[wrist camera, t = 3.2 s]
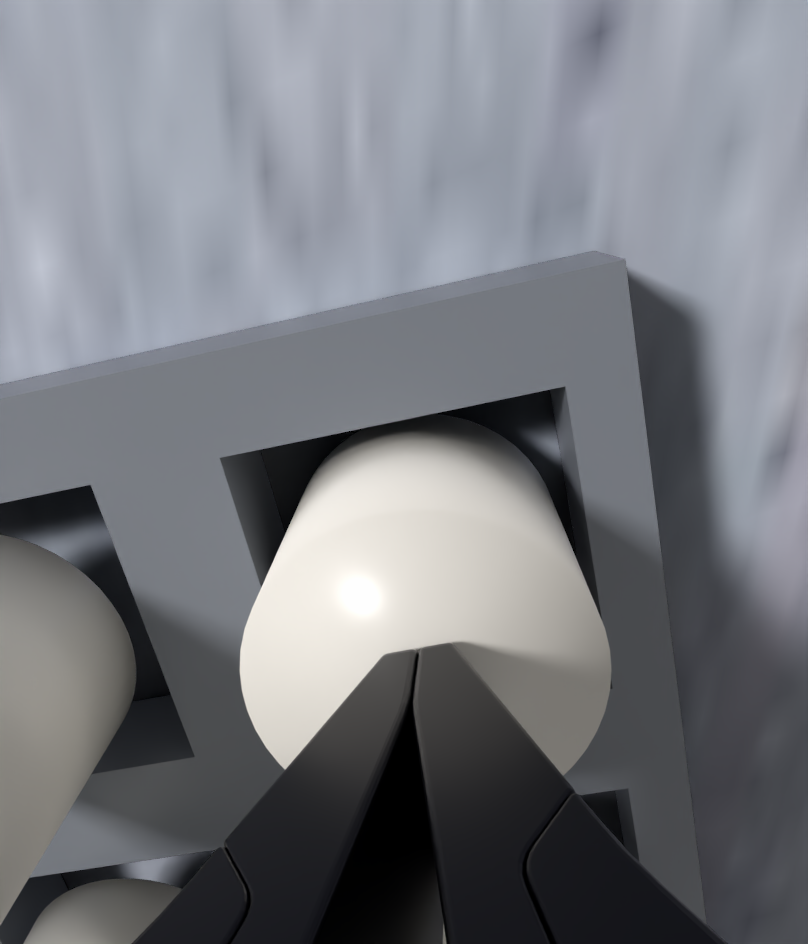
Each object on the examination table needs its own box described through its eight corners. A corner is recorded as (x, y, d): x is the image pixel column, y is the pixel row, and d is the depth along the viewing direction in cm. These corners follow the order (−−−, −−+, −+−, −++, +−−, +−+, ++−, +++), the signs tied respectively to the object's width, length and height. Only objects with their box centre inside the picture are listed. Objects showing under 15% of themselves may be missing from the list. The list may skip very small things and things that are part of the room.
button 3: (534, 388, 12) (582, 473, 8) (574, 628, 13) (632, 798, 9) (265, 444, 12) (191, 549, 8) (333, 670, 14) (295, 847, 10)
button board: (594, 250, 12) (633, 261, 9) (708, 1098, 18) (747, 1226, 16) (-212, 431, 13) (-348, 479, 11) (158, 1156, 19) (123, 1281, 17)
